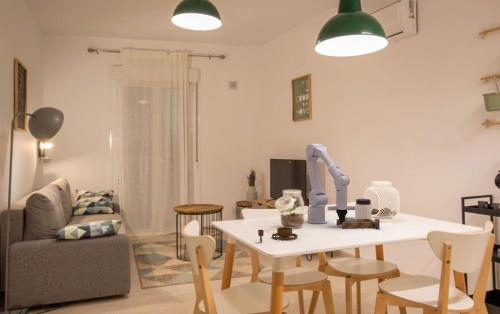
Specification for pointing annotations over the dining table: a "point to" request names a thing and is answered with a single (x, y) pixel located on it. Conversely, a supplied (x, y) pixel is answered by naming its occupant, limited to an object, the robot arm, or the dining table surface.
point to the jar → (363, 209)
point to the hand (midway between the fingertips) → (341, 223)
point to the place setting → (280, 234)
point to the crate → (350, 219)
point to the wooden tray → (360, 224)
